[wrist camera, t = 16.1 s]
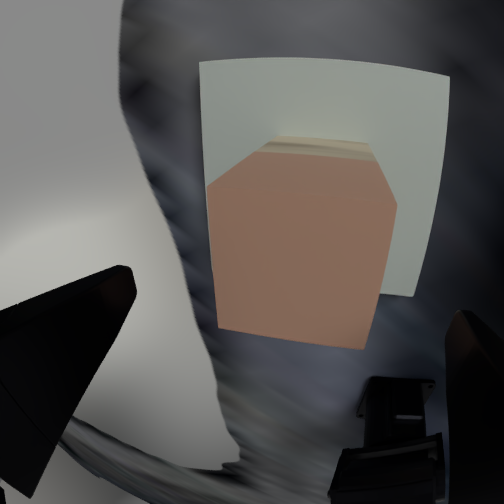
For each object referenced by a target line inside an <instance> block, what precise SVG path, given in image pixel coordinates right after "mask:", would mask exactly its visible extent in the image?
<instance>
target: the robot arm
mask: <svg viewBox="0 0 504 504" xmlns="http://www.w3.org/2000/svg"><path fill="white" fill-rule="evenodd" d="M136 295H137V289H136V284H135V280H134V276H133V272H132V270H131V268H130V267H128V266H123V265H116V266H113V267H111V268H108V269H105V270H103V271H100V272H97V273H95V274H92V275H89V276H87V277H84V278H81V279H79V280H76V281H74V282H71V283H68V284H66V285H63V286H61V287H58V288H56V289H53V290H51V291H48V292H45V293H43V294H40V295H38V296H36V297H33V298H30V299H28V300H25V301H23V302H20V303H19V304H15V305H13V306H10V307H8V308H6V309H3V310H0V482H1V480H4V481H5V482H6V483H8V484H9V485H10V486H12V487H13V488H15V489H16V490H18V491H19V492H20V493H22V494H23V495H25V496H26V497H28V498H29V499H30V498H31V497H32V496H33V494H34V492H35V489H36V487H37V485H38V483H39V481H40V479H41V477H42V474H43V472H44V470H45V468H46V466H47V464H48V462H49V460H50V458H51V456H52V454H53V452H54V450H55V448H56V447H55V446H56V445H57V444H58V442H59V440H60V438H61V436H62V434H63V432H64V430H65V428H66V426H67V424H68V422H69V420H70V419H71V417H72V415H73V413H74V411H75V409H76V407H77V406H78V404H79V402H80V400H81V398H82V396H83V395H84V393H85V391H86V389H87V387H88V385H89V384H90V382H91V380H92V379H93V377H94V375H95V373H96V372H97V370H98V368H99V366H100V365H101V363H102V361H103V360H104V358H105V356H106V354H107V353H108V351H109V349H110V348H111V346H112V344H113V343H114V341H115V339H116V337H117V335H118V333H119V331H120V329H121V327H122V325H123V323H124V321H125V319H126V317H127V315H128V313H129V311H130V309H131V307H132V305H133V303H134V300H135V298H136ZM445 362H446V399H447V411H448V426H449V453H450V477H449V503H448V504H504V341H503V340H502V339H501V338H500V337H499V336H498V335H497V334H496V333H495V332H494V331H493V330H491V329H490V328H489V327H488V326H487V325H486V324H485V323H484V322H483V321H482V320H481V319H479V318H478V317H477V316H476V315H475V314H474V313H473V312H472V311H468V310H458V311H456V313H455V314H454V317H453V319H452V321H451V324H450V326H449V328H448V331H447V333H446V336H445ZM435 386H436V384H435V381H434V380H420V379H403V378H389V377H372V378H371V379H370V381H369V383H368V386H367V388H366V391H365V393H364V396H363V398H362V401H361V403H360V406H359V408H358V410H357V415H356V416H357V417H358V418H364V419H365V431H364V444H363V448H354V449H350V448H345V449H343V450H342V454H341V456H340V457H339V461H338V464H337V467H336V471H335V474H334V477H333V480H332V483H331V486H330V489H329V491H328V493H327V496H328V498H329V499H330V500H331V504H435V503H436V502H440V501H444V499H445V462H444V450H443V440H442V432H440V433H436V435H431V436H427V437H426V423H425V411H424V405H425V403H426V401H427V400H428V398H429V396H430V395H431V393H432V392H433V390H434V388H435ZM0 504H6V501H5V494H4V489H3V488H2V487H0Z"/></svg>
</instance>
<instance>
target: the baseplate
mask: <svg viewBox="0 0 504 504" xmlns="http://www.w3.org/2000/svg"><path fill="white" fill-rule="evenodd" d="M199 68H200V98H201V121H202V141H203V159H204V175H205V190H206V204H207V218H208V230H209V242H210V229H209V216H208V201H207V186H208V185H209V184H211V183H212V182H213V181H215V180H216V179H217V178H219V177H220V176H221V175H223V174H224V173H225V172H227V171H228V170H229V169H231V168H232V167H234V166H235V165H236V164H238V163H239V162H240V161H242V160H243V159H245V158H246V157H247V156H249V155H250V154H252V153H253V152H255V151H256V150H258V149H259V148H260V147H262V146H263V145H265V144H266V143H268V142H269V141H270V140H272V139H273V138H275V137H276V136H294V137H309V138H322V139H333V140H344V141H353V142H362V143H368V144H369V146H370V148H371V150H372V152H373V154H374V156H375V158H376V160H377V162H378V164H379V166H380V168H381V170H382V172H383V174H384V176H385V178H386V180H387V182H388V184H389V187H390V189H391V191H392V193H393V195H394V198H395V200H396V202H397V211H396V217H395V223H394V228H393V234H392V239H391V244H390V249H389V254H388V259H387V263H386V268H385V272H384V277H383V281H382V285H381V289H380V293H382V294H391V295H400V296H410V297H413V295H414V292H415V288H416V285H417V282H418V278H419V275H420V271H421V267H422V263H423V260H424V256H425V252H426V248H427V244H428V239H429V235H430V231H431V226H432V222H433V217H434V212H435V207H436V202H437V196H438V190H439V184H440V178H441V172H442V165H443V157H444V149H445V141H446V131H447V120H448V106H449V84H450V77H448V76H444V75H439V74H435V73H430V72H425V71H420V70H415V69H409V68H403V67H397V66H391V65H384V64H376V63H368V62H359V61H348V60H336V59H319V58H245V59H229V60H216V61H205V62H199ZM210 254H211V242H210ZM211 265H212V254H211ZM212 272H213V266H212Z"/></svg>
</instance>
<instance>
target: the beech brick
mask: <svg viewBox="0 0 504 504" xmlns="http://www.w3.org/2000/svg"><path fill="white" fill-rule="evenodd" d="M255 152H274V153H291V154H305V155H317V156H328V157H338V158H348V159H357V160H365V161H373V162H377V160H376V158H375V156H374V154H373V152H372V150H371V148H370V146H369V144H368V143H362V142H353V141H344V140H333V139H322V138H309V137H294V136H276V137H275V138H273V139H272V140H270V141H269V142H268V143H266V144H265V145H263V146H262V147H260V148H259V149H258V150H256V151H255Z"/></svg>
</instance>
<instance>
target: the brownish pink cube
mask: <svg viewBox="0 0 504 504" xmlns="http://www.w3.org/2000/svg"><path fill="white" fill-rule="evenodd" d="M207 201H208V216H209V229H210V242H211V254H212V266H213V277H214V288H215V299H216V309H217V319H218V328H222V329H227V330H233V331H238V332H243V333H249V334H255V335H260V336H266V337H272V338H279V339H285V340H291V341H298V342H305V343H312V344H319V345H327V346H334V347H343V348H351V349H360V350H364V348H365V345H366V341H367V338H368V334H369V331H370V327H371V324H372V320H373V317H374V313H375V309H376V305H377V301H378V298H379V294H380V289H381V285H382V281H383V277H384V272H385V268H386V263H387V259H388V254H389V249H390V244H391V239H392V234H393V228H394V223H395V217H396V211H397V202H396V200H395V198H394V195H393V193H392V191H391V189H390V187H389V184H388V182H387V180H386V178H385V176H384V174H383V172H382V170H381V168H380V166H379V164H378V162H373V161H365V160H357V159H348V158H338V157H328V156H317V155H305V154H291V153H274V152H253V153H252V154H250V155H249V156H247V157H246V158H245V159H243V160H242V161H240V162H239V163H238V164H236V165H235V166H234V167H232V168H231V169H229V170H228V171H227V172H225V173H224V174H223V175H221V176H220V177H219V178H217V179H216V180H215V181H213V182H212V183H211V184H209V185H208V186H207Z"/></svg>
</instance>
